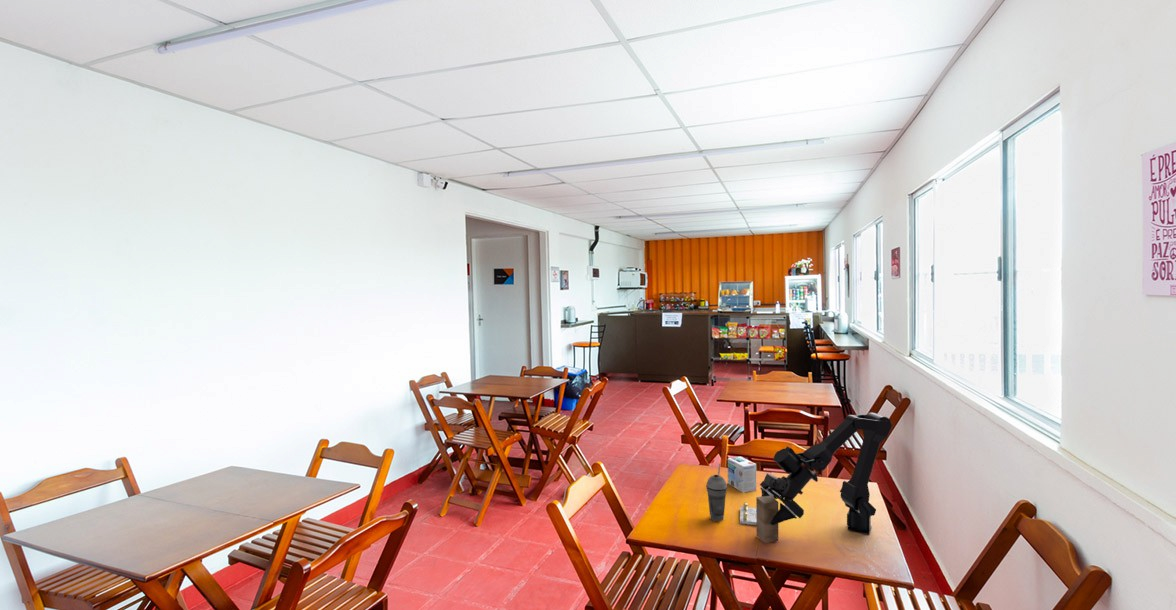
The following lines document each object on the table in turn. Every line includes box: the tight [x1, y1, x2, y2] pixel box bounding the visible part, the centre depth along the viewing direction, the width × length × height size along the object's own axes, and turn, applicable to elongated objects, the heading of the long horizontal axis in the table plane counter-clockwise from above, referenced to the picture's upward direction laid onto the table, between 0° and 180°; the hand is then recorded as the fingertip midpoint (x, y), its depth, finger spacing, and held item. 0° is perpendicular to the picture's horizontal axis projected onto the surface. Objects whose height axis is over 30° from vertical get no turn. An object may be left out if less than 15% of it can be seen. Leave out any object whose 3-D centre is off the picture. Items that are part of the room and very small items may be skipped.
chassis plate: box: [739, 502, 757, 526], centre depth 188 cm, size 12×12×3 cm
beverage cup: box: [706, 463, 728, 522], centre depth 188 cm, size 7×7×20 cm
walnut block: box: [755, 495, 779, 544], centre depth 173 cm, size 5×5×13 cm
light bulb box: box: [727, 456, 757, 493], centre depth 216 cm, size 11×7×11 cm, turn 21°
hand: (764, 517), depth 173 cm, fingers open, 9 cm apart
